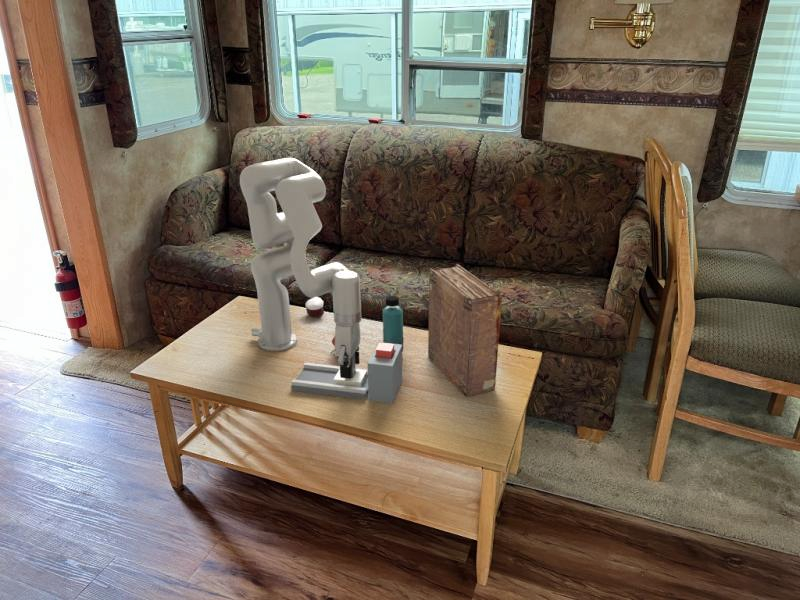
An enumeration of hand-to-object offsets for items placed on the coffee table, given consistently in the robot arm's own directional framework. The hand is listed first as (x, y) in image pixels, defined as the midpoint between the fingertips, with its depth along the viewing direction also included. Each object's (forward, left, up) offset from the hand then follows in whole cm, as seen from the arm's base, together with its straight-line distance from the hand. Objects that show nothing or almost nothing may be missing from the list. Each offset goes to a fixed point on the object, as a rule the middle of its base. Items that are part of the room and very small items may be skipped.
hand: (350, 370), depth 178 cm
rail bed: (-5, 0, -5) cm, 7 cm away
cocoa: (-26, +42, -5) cm, 50 cm away
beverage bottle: (+8, +20, -5) cm, 22 cm away
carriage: (0, 0, -4) cm, 4 cm away
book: (+30, +14, -6) cm, 34 cm away
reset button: (+11, 0, +5) cm, 12 cm away
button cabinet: (+11, 0, -5) cm, 12 cm away
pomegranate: (-8, +18, -6) cm, 20 cm away
